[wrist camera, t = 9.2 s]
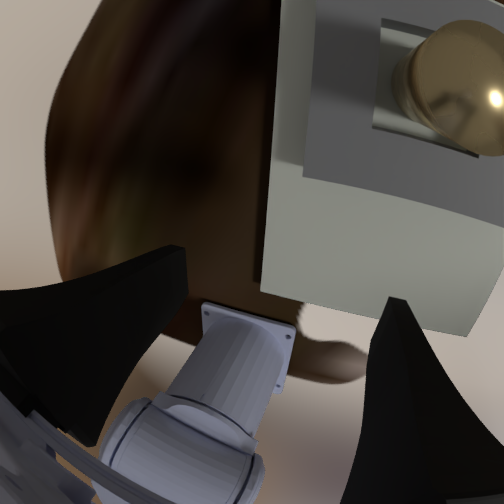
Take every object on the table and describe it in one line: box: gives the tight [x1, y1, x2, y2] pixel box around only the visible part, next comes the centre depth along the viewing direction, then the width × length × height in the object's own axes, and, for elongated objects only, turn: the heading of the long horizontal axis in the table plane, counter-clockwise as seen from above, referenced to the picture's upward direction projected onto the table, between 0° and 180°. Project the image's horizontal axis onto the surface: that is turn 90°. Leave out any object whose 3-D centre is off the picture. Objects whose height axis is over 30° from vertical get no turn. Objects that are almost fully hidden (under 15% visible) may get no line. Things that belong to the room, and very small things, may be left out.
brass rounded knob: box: [391, 20, 504, 157], centre depth 9 cm, size 4×4×8 cm
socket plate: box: [260, 0, 504, 337], centre depth 13 cm, size 22×16×3 cm
